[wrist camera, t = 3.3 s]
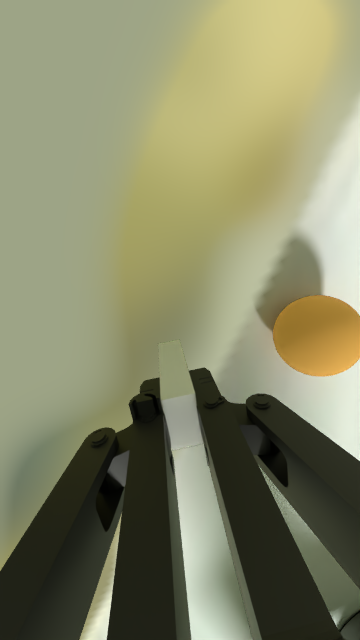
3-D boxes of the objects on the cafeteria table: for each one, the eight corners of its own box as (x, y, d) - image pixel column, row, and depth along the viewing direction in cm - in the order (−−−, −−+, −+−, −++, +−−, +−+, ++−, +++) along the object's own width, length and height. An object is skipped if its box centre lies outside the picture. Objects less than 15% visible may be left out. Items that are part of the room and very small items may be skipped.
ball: (325, 348, 20) (387, 382, 15) (262, 361, 20) (302, 401, 14) (326, 283, 18) (395, 296, 13) (257, 296, 18) (300, 315, 13)
